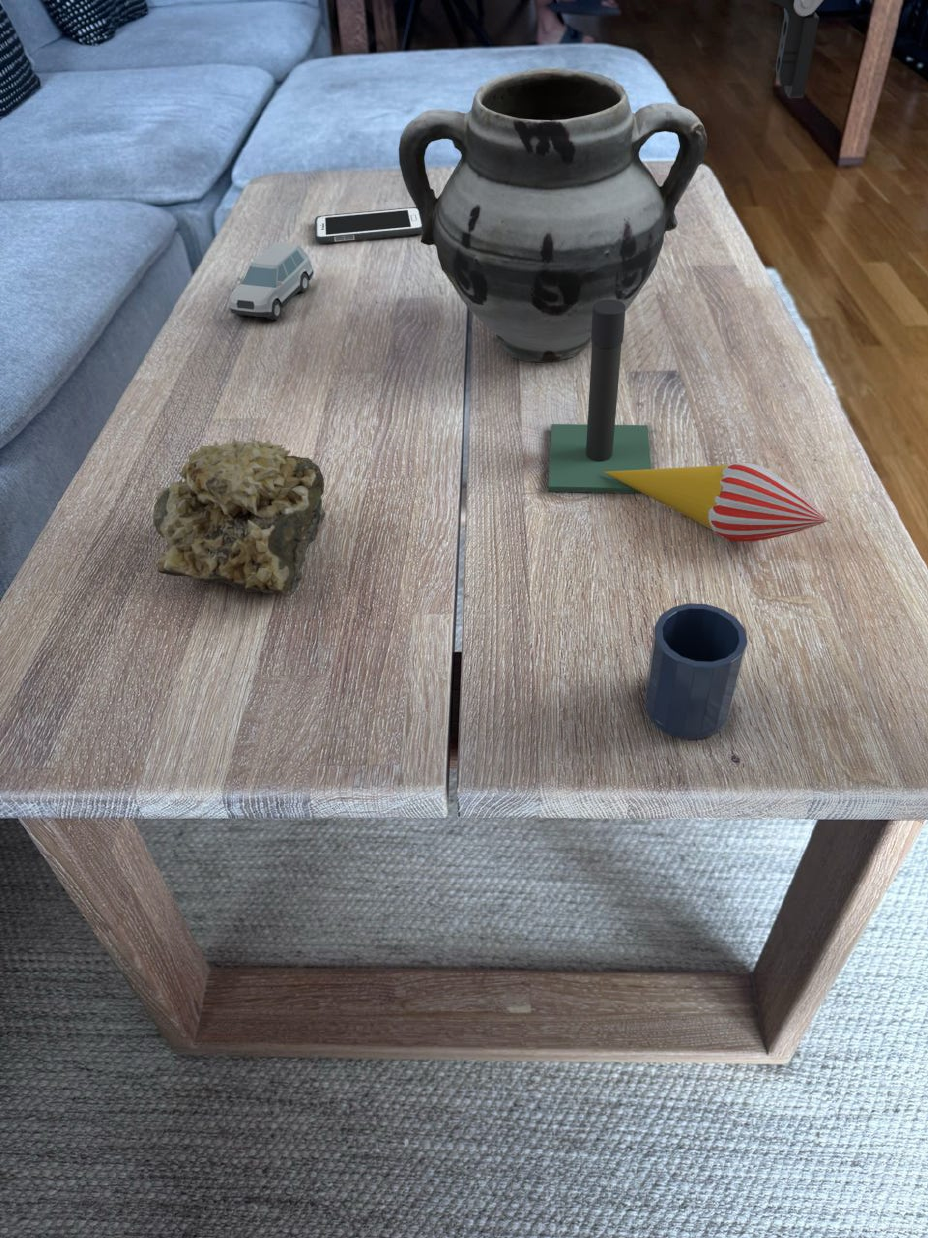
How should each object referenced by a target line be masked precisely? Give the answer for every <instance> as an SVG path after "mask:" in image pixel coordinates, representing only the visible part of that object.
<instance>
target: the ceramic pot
mask: <svg viewBox="0 0 928 1238" xmlns="http://www.w3.org/2000/svg"><path fill="white" fill-rule="evenodd" d="M663 132H664V133H665V132H667V133H670V134H671V133H673V134H675V135H676V136H677V139H678V144H679V148H678V151H677V153H676V156H675V159H674V162H673V163H672V165H671V167H670V169H669V172H668V175H667V176H666V178H665V179H664V181H663V183H662V185H661V186H660V185H659V184H658V183H657V181H656V179H655V177H654V175H653V174H652V172H651V170H650V169H649V168H648V166H647V165H646V164H645V163H644V162H643V161H642V160H641V157H640V151H641V148H643V146H644V145H645V144H646V142H647V141H648V140H649V139H650V138H652V137H653V136H654V135H655V134H657V133H663ZM441 140H449V141H452V145H453V147H454V148H455V149H456V150H458V151H459V152H460V155H461V157H460V159H459V161H458V162H457V165H456V166H455V168H454V169H453V171H452V173H451V174H450V176H449V177H448V179H447V181H446V182H445V185H444V186H443V189H442V190H441V193H440V194H439V196H438V197H437V196H436V193H435V190H434V189H433V188H432V187H431V184H430V180H429V176H428V174H427V170H426V169H427V168H426V162H425V157H426V152H427V149H428V147H429V145H430V144H431V143H433V142H436V141H441ZM707 146H708V136H707V133H706V129H705V126H704V123H702V121H701V120H700V118H699V117H698V116H697V115H696V114H695V113H694V112H693V111H692V110H690V109H689V108H686V107H684V106H681V105H679V104H676V103H672V102H669V101H668V102H667V101H666V102H656V103H650V104H647V105H645V106H643V107H641V108H638V110H637V111H635V112H633V110H632V108H631V104H630V99H629V96H628V94H627V91H626V90H625V88H624V86H623V85H621V84H620V83H618V82H617V81H615V80H614V78H611V77H608V76H606V75H603V74H599V73H595V72H591V71H586V70H580V69H573V68H564V67H563V68H562V67H543V68H542V67H541V68H535V69H533V68H532V69H526V70H524V71H515V72H513V71H512V72H507V73H504V74H501V75H499V76H496V77H493V78H490V79H489V80H487V81H486V82H485V83H483V84H482V85H481V86H479V87H478V89H477V91H476V93H475V94H474V96H473V100H472V104H471V109H470V110H469V111H467V112H460V111H458V110H448V109H440V108H439V109H428V110H426V111H423V112H422V113H420V114H419V115H417V116H416V117H414V118H413V119H412V120H410V121H409V123H407V124H406V126H405V127H404V129H403V132H402V134H401V136H400V137H399V146H398V161H399V162H398V163H399V167H400V171H401V175H402V179H403V181H404V184H405V187H406V190H407V193H408V194H409V197H410V198H411V200H412V202H413V204H414V206H415V207H417V209H418V211H419V213H420V216H421V220H422V233H421V237H420V240H419V241H420V243H421V244H424V245H426V246H434V247H435V250H436V254H437V259H438V262H439V266H440V269H441V271H442V272H443V273H444V274H445V276H446V278H447V279H448V280H449V282H450V283H451V284H452V285H451V286H453V288H454V289H455V291H456V293H457V294H458V296H459V298H460V299H461V301H462V302H463V304H464V305H465V306H466V307H467V309H468V310H469V311H470V312H471V314H473V315H474V316H475V317H476V318H477V319H478V320H479V321H480V322H481V323H482V324H483V325H484V326H485V327H486V328H487V329H488V330H489V331H491V332H492V333H494V334H495V335H496V339H497V341H498V344H499V346H500V348H501V349H502V350H503V351H504V353H505V354H506V355H508V356H509V357H511V358H514V359H516V360H519V361H523V362H529V363H547V362H557V361H558V362H559V361H562V360H567V359H570V358H573V357H576V356H578V355H580V354H581V353H583V352H584V351H585V350H586V349H587V348H588V346H589V345H590V343H591V331H592V313H593V305H594V304H595V303H596V302H598V301H601V300H617V301H620V302H622V303H623V304H624V305H625V307H626V310H625V312H627V310H628V308H629V307H630V306H631V305H632V303H633V302H634V301H635V299H636V298H637V297H638V295H639V294H640V292H641V291H642V289H643V288H644V286H645V284H647V282H648V280H649V279H650V277H651V275H652V273H653V271H654V269H655V267H656V266H657V263H658V259H659V256H660V254H661V251H662V249H663V245H664V242H665V234H666V232H671V231H673V230H676V228H677V226H678V223H679V222H678V220H677V216H676V214H675V210H676V207H677V205H679V202H680V200H681V199H682V197H683V196H684V194H685V192H686V191H687V188H688V187H689V185H690V183H691V181H692V179H693V178H694V176H695V174H696V172H697V170H698V168H699V167H700V166H701V165H703V162H704V159H705V156H706V150H707Z"/></svg>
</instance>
